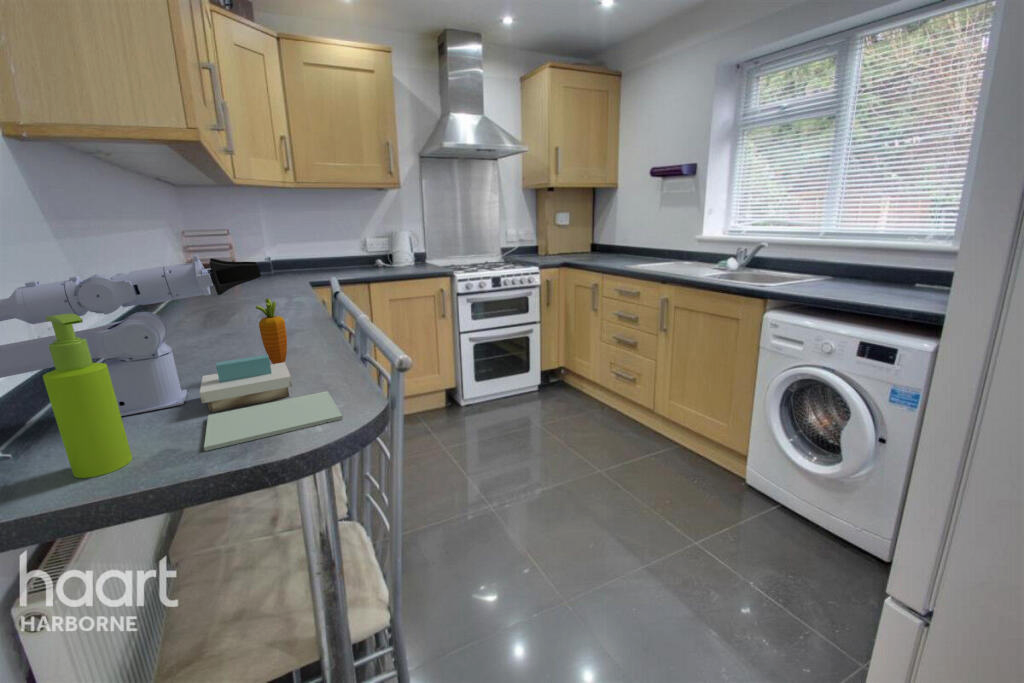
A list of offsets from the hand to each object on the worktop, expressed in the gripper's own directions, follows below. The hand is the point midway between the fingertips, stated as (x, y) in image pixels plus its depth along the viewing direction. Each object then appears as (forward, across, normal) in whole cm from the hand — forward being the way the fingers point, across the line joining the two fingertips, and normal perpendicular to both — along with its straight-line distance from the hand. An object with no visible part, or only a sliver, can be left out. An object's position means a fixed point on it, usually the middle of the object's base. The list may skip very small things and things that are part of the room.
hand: (258, 269), depth 86 cm
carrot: (-1, +8, +22) cm, 23 cm away
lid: (-7, -6, +19) cm, 21 cm away
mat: (-4, -20, +22) cm, 30 cm away
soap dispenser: (-24, -24, +20) cm, 39 cm away
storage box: (-7, -6, +21) cm, 23 cm away
